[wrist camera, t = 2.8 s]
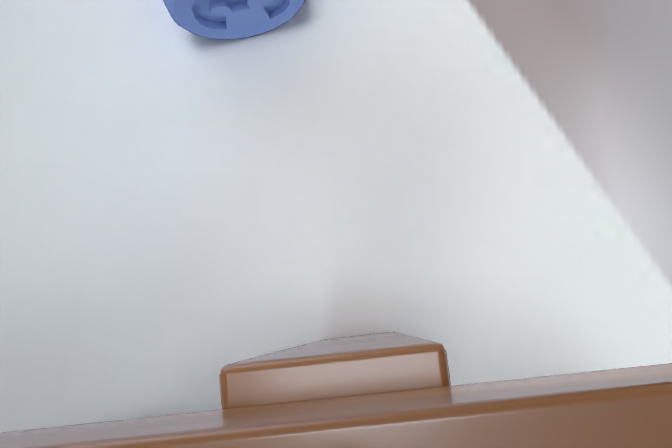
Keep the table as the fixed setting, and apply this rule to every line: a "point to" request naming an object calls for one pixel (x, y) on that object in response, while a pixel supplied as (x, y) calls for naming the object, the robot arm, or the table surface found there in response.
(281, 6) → the decorative dice
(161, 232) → the table surface
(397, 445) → the brown beam with peg
